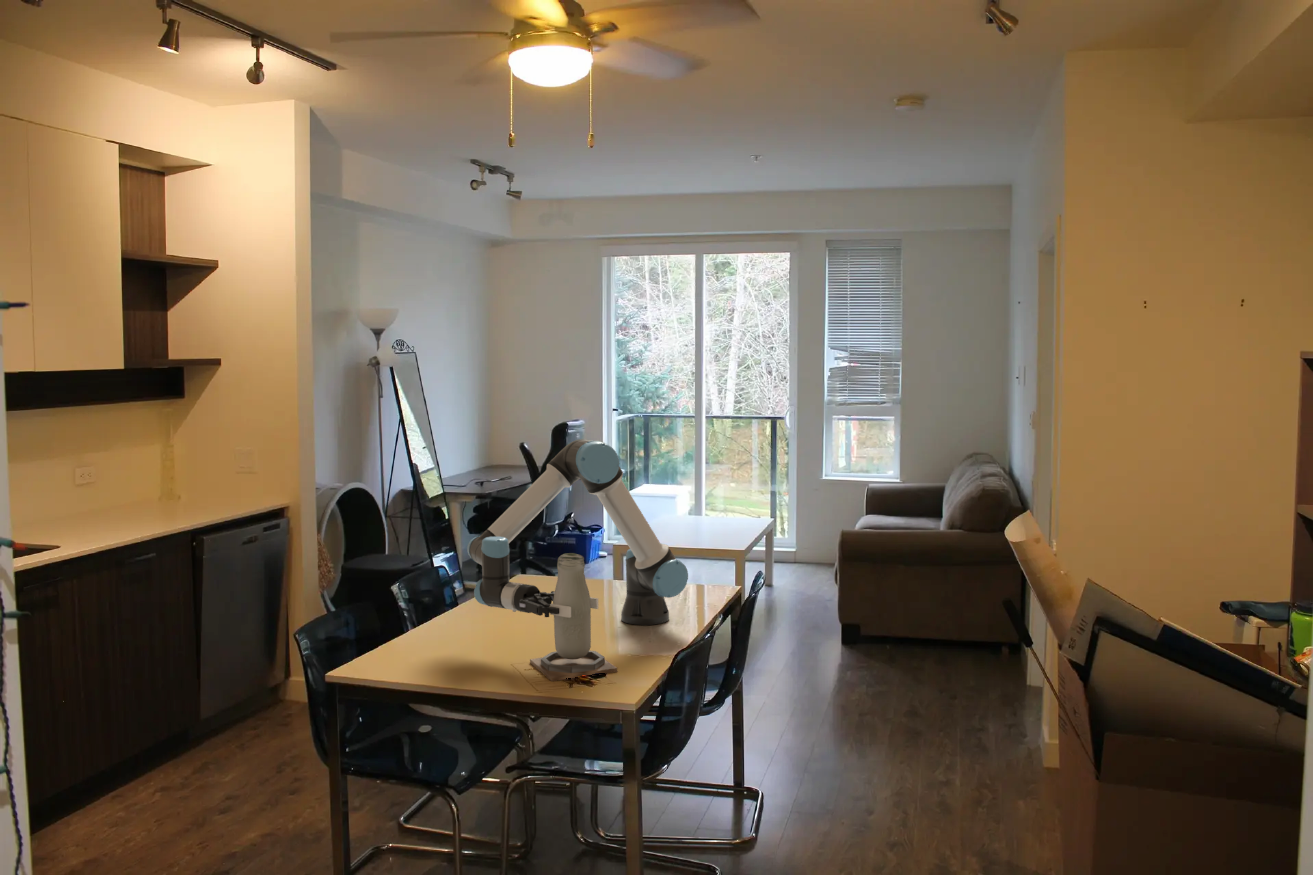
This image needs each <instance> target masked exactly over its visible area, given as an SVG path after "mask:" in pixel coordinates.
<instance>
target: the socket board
mask: <svg viewBox="0 0 1313 875" xmlns="http://www.w3.org/2000/svg"><path fill="white" fill-rule="evenodd" d="M529 664H531V665H532V666H533V667H534V668H535V667H536V668H535V669H536V670H538V669H539V670H538V671H539V672H540V671H541V672H542V673H543V674H542V673H541V672H540V673H541V674H542V675H544V676H545V675H546V676H545V677H546V678H547V679H548V680H549V681H550V682H555V681H557V680H558V681H562V680H569V679H568V678H571V679H576V678H575V677H578V676H582V675H592V674H595V673H605V674H611V673H612V674H613V673H617V672H618V667H616V666H615V665H614V664H612V663H611V662H610V661H608V660H606V658H605V656H604V655H602V654H601V653H599V651H596V650H589V652H588V653H587V655H585V656H584V657H582V658H579V659H566V658H563V657H561V656H559V654H558V653H557V651H556V650H555V651H552V652H549V653H547V654H546V655H544V656H543V657H537V658H536V657H535V658H530V659H529ZM592 676H593V675H592ZM566 678H567V679H566ZM578 678H579V677H578Z"/></svg>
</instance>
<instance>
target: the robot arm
mask: <svg viewBox="0 0 1313 875" xmlns="http://www.w3.org/2000/svg"><path fill="white" fill-rule="evenodd" d="M623 475H624V471H623V470H622V468H621V466H620V458H619V455H618V453H617V451H616V450H615V449H614V447H612V446H611V445H609V444H607V443H606V442H604V441H600V440H589V439H584V438H581V439H576V440H573V441H571V442H569V443H568V444H567V445H566V446H564V447H563V448H562V449H561V450H560V451H559V452H558V453H557V454H556V455H555V456H554V457H553V458H552V459H551V460H550V461H549V462H548V463H547V464H546V469H545V471H544V472H543V473H542V474H541V475H539V477H538V478H537V479H536V480H535V481H534V482H532V483H531V484H530V486H529V487H528V488H527V489H526V490H525V491H524V492H523V493H522V494H520V495H519V497H518V498H517V499H515V501H514V502H513V503H512V504H510V506H509V507H508V508H507V509H506V510H505V511H504V512H503V513H502V514H501V515H500V516H499V517H498V518H496V520H495V521H494V522H493V523H492V524H491V525H490V526H489V527H488V528H487V529H486V530H485V531H484V532H483V533H482V534H481V535H478V536H475V537H473V538H472V539H470V540H469V541H468V544H467V546H466V547H467V548H466V549H467V550H466V551H467V554H468V556H469V558H470V559H471V560H472V561H473V562H474V563H476V564H479V565H481V568H482V572H481V573H482V578H480V579H479V580H478V581H477V582H476V584H475V588H474V590H473V593H474V594H473V595H474V599H475V600H476V602H478V603H479V604H481V605H485V606H487V607H490V608H492V607H493V608H499V609H503V610H504V609H505V610H512V612H514V613H516V612H520V613H527V614H534V615H537V616H540V617H542V616H543V614H544V618H549V617H550V615H552V616H554V615H556V616H562V617H568V618H570V617H571V607H569V606H563V605H557V604H553V598H554V593H555V590H551V591H550V592H545V591H540V589H539V588H538V587H537V586H536V585H533V584H527V583H520V582H514V581H510V552H511V549H510V545H509V544H510V543H511V542H512V541H513V540H514V539H515V538H516V537H517V536H518V535H519V534H520V533H521V532H522V531H523V530H524V529H525V528H526V527H527V526H528V525H529V524H530V523H531V522H532V520H534V519H535V518H536V517H537V516H538V515H539V514H540V512H542V511H543V510H544V509H545V508H546V507H547V506H548V505H550V504H549V503H551V502H552V501H553V500H554V499H555V498H556V497H557V495H559V494H560V493H561V492H562V491H563V490H564V489H565V488H571V486H572V485H573V484H574V483H575V482H578V481H579V480H580V481H581V482H582V484H583V486H584V487H585V489H586V490H587V492H588V494H590V495H594V496H596V497H597V498H598V499H599V501H600V503H601V504H602V506H603V508H604V509H605V511H606V512H607V515H608V516H609V517H610V519H611V522H613V524H614V525H615V527H616V528H617V530H618V532H619V533H620V534H621V537H622V539H624V541H625V543H626V544H627V546H628V547H629V549H627V551H626V554H625V572H626V573H625V576H626V577H625V578H626V579H625V582H626V596H625V598H624V599H625V600H624V602H623V607H622V609H621V613H620V619H621V622H623V623H626V624H629V625H637V626H652V625H659V624H660V625H661V624H665V623H666V622H668V621H670V620H669V619H670V611H669V608H668V605H667V602H666V600H665V598H674V597H677V596H679V595H680V594H681V593H682V592H683V591H684V590H685V588H686V586H687V584H688V581H689V571H688V569H687V567H686V565H685V563H683V562H682V561H681V560H679V559H677V557H675V555H674V554H673V552H672V550H671V548H670V547H669V545H668V544H665V543H661V542H660V540H659V539H658V537H657V536H656V534H655V532H654V530H653V529H652V527H651V525H650V524H649V522H648V521H647V519H646V517H645V516H644V514H643V513H642V510H641V509H640V507H639V506H638V505H637V503H636V501H635V499H634V497H633V496H632V494H631V493H630V491H629V490H628V488H627V487H626V485H625V483H624V481H623ZM590 601H591V609H595V610H598V609H599V598H598V597H591V596H590Z"/></svg>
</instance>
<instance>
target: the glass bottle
mask: <svg viewBox="0 0 1313 875" xmlns="http://www.w3.org/2000/svg"><path fill="white" fill-rule="evenodd" d="M584 560H585V557H584V556H583V555H581V554H577V553H575V552H569V553H566V552H565V553H563V554H561V555H560V556H559V557H558V558H557V563H556V568H557V581H556V584H555V588H554V591H555V593H554V598H553V601H552V604H557V605H563V606H569V607H571V617H570V618H568V617H562V616H556V615H553V621H554V624H553V626H554V634H553V635H554V648H555V652H556V651H557V653H558V654H559V656H561V657H563V658H566V659H579V658H582V657H584V656H585V655H587V653H588V652H589V651H591V650H590V649H591V648H592V646H591V645H592V637H591V636H592V635H591V634H592V631H591V629H592V627H591V626H592V624H591V623H592V622H591V621H592V620H591V619H592V616H591V612H592V610H591V609H592V608H591V601H590V597H591V595H590V591H589V588H588V584H587V581H586V575H585V568H586V564H585V561H584Z"/></svg>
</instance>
